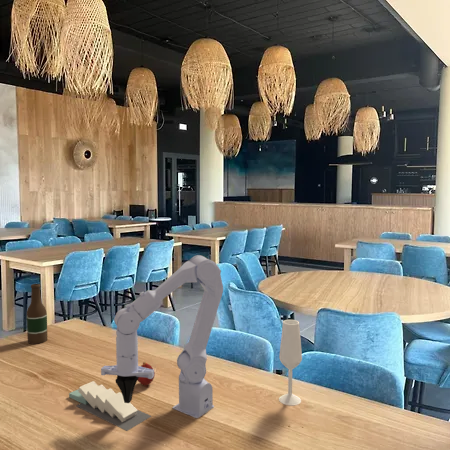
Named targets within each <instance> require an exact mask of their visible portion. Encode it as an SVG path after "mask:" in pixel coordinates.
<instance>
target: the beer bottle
mask: <svg viewBox="0 0 450 450" xmlns="http://www.w3.org/2000/svg"><path fill="white" fill-rule="evenodd" d="M41 287H42V286H41V284H40V283H33V284H30V288H31V296H30V297H31V298H30V299H31V300H30V305H29V306H28V307H27V309H26V332H27V334H26V335H27V336H26V337H27V342H28V344H29V345H38V344H44V343H45V342H47V341H48V315H47V309H46V307H45V305H44V304H43V302H42V297H41V296H42V295H41Z"/></svg>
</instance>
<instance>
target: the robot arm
mask: <svg viewBox="0 0 450 450" xmlns="http://www.w3.org/2000/svg"><path fill="white" fill-rule="evenodd" d="M221 272H222V270H221V269H220V267H219V266H218V265H217V263H216V262H215V261H214V260H211V259H210V258H209V259H208V258H207V257H205V256H203V255H200V254H197V255H194V256H193V257H191V258H190V259H189V260H187V261H185V262H184V263H183V264H182V265H181V266H180V267H179V268H178V269H177V270H176V271H174V272H173V273H172V274H171V275H170V276H169V277H168V278H166V280H164V281H163V282H162V283H161V284H159V285H158V287H157V288H155V289H154V290H150V289H148V290H146V291H145V292H144V291H141V292H140V293H139V296H138V297H137V298H136V299H135V300H134V301H132V302H131V303H130V304H129V303H127V304H126V305H125V307H124V308H123V307H122V308H120V309H119V310H118V311H117V312H116V313H115V317H114V319H113V321H114V324H115V326H116V333H115V335H116V336H115V337H116V338H115V346H116V348H115V349H116V350H115V352H116V353H115V354H116V364H115V365H104V366H102V367H100V376H105V375H107V376H108V375H109V376H110V375H111V376H117V377H116V378H115V384H116V385H117V387H118V388H119V390H120V393H121V394H122V395H123V399H124V403H131V401H132V400H133V394H134V390H135V387H136V385H137V382H138V378H139V377H146V378H148V379H152V378H153V377H154V378H155V376H154V372H155V369H154V368H153V369H148V368H144V367H141V365H139V351H138V350H139V346H138V344H139V341H138V340H139V338H138V330H139V327H140V326H141V325H140V323H141V322H144V321H145V320H146V319H147V318H148V317H150V316H151V315H152V314H153V313H154V312H156V311H157V310H158V309H159V308H161V306H162V302H163V301H162V300H164V299H165V298H166V297H168V296H169V295H171V294H172V293H173V292H174V291H176V290H177V289H178V288H180V287H181V286H182V285H184V284H186V283H198V282H199V284H200V285H201V287H202V289H203V294H202V297H201V299H200V300H201V301H200V303H199V307H198V311H197V313H196V317H195V320H194V324H193V327H192V329H191V334H190V336H189V339H188V342H187V343H185V345H184V346H183V350H182V351H181V352H180V353H179V355H178V356H177V359H176V366H177V367H178V369H179V370H180V372H179V375H178V403H177V404H176V405H174V406H172V410H176V411H178V412H180V413H182V414H185V415H188V416H191V417H193V418H195V419H199V418H201V417H202V416H203V415H205V414H206V413H207V412H209V411H211V410H212V409H214V408H215V405H214V404H213V400H214V399H213V397H214V396H213V393H214V391H213V385H212V384H211V383H210V382H209V381H207V380H206V379H205V377H206V374H207V365H206V364H207V360H208V357H207V346H208V341H209V339H210V336H211V332H212V329H213V326H214V323H215V320H216V316H217V312H218V309H219V306H220V303H221V300H222V296H223V292H224V285H223V280H222V275H221Z"/></svg>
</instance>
